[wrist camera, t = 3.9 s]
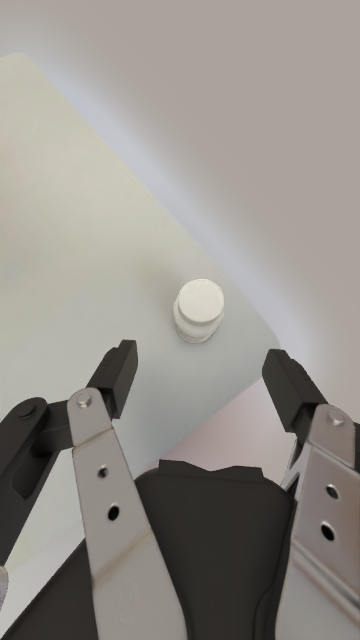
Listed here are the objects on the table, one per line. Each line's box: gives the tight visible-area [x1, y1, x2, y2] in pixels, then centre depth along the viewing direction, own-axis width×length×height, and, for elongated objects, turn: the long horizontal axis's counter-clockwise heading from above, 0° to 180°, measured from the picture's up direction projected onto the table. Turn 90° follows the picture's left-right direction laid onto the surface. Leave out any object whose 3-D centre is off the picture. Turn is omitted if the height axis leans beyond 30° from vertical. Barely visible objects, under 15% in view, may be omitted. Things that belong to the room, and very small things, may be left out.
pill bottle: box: [173, 279, 225, 343], centre depth 17 cm, size 4×4×8 cm
